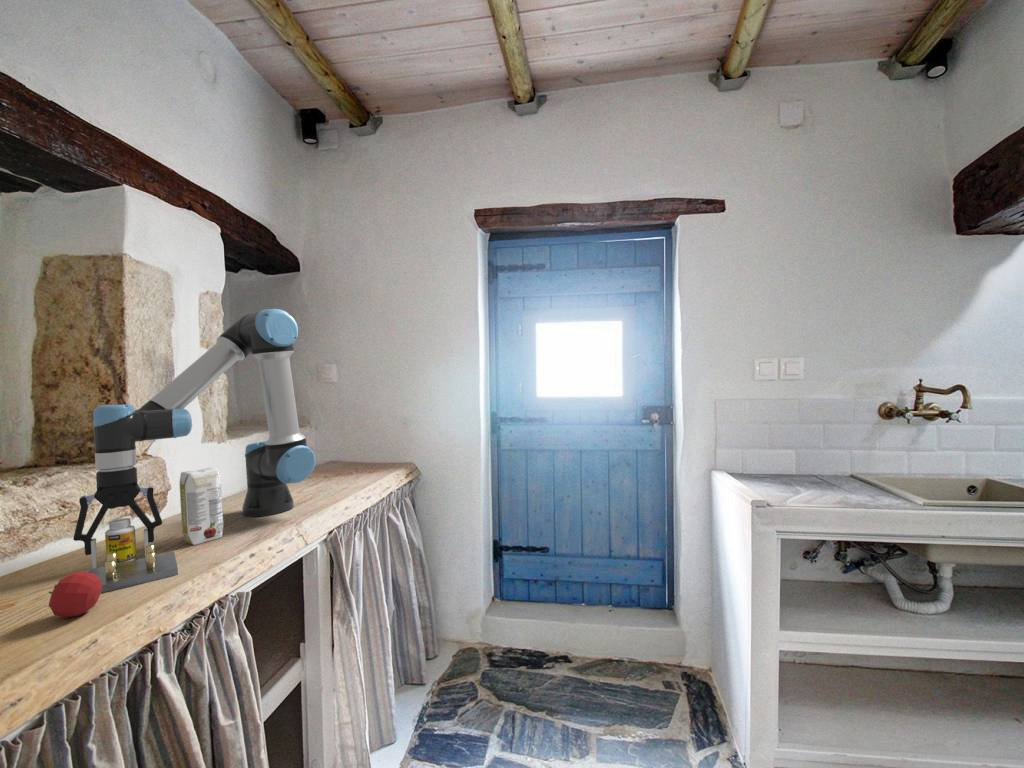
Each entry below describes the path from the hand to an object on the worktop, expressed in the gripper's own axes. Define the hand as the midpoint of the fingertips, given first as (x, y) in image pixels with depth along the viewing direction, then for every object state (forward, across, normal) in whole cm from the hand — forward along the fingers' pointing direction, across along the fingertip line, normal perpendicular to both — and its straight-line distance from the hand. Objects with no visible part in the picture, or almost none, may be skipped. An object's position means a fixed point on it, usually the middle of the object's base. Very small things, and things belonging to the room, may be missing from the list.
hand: (121, 561), depth 113 cm
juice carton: (0, -17, -5) cm, 18 cm away
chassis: (0, -2, +13) cm, 13 cm away
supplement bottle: (0, 0, 0) cm, 0 cm away
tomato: (0, +6, +29) cm, 30 cm away
